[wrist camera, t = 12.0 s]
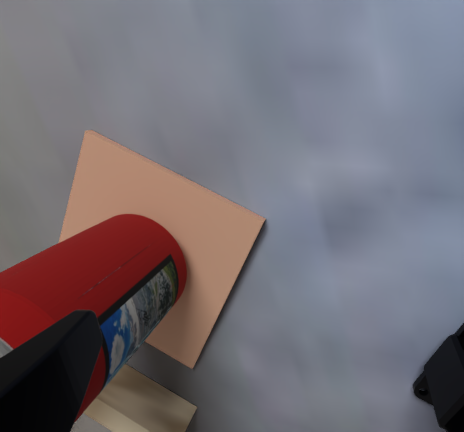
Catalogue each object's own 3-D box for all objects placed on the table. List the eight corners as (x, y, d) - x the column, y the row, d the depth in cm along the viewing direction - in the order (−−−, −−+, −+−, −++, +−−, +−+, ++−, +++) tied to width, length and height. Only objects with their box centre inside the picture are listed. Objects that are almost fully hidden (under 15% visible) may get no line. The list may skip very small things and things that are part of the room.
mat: (265, 218, 22) (263, 221, 21) (195, 363, 26) (192, 369, 26) (91, 130, 23) (85, 131, 23) (54, 281, 28) (48, 284, 28)
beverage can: (151, 325, 26) (2, 495, 15) (80, 254, 26) (-121, 371, 15) (214, 266, 23) (88, 422, 12) (135, 186, 23) (-63, 270, 12)
